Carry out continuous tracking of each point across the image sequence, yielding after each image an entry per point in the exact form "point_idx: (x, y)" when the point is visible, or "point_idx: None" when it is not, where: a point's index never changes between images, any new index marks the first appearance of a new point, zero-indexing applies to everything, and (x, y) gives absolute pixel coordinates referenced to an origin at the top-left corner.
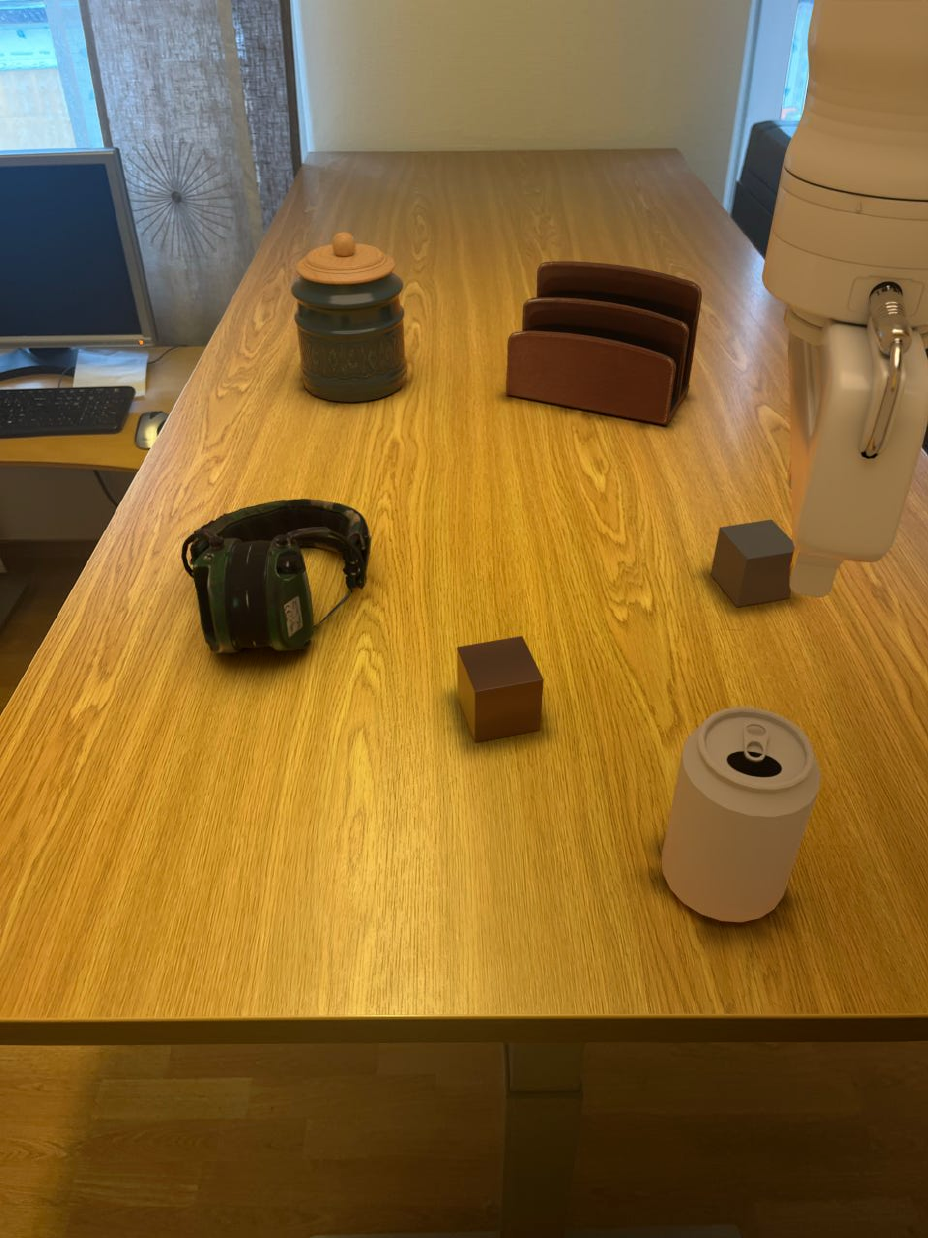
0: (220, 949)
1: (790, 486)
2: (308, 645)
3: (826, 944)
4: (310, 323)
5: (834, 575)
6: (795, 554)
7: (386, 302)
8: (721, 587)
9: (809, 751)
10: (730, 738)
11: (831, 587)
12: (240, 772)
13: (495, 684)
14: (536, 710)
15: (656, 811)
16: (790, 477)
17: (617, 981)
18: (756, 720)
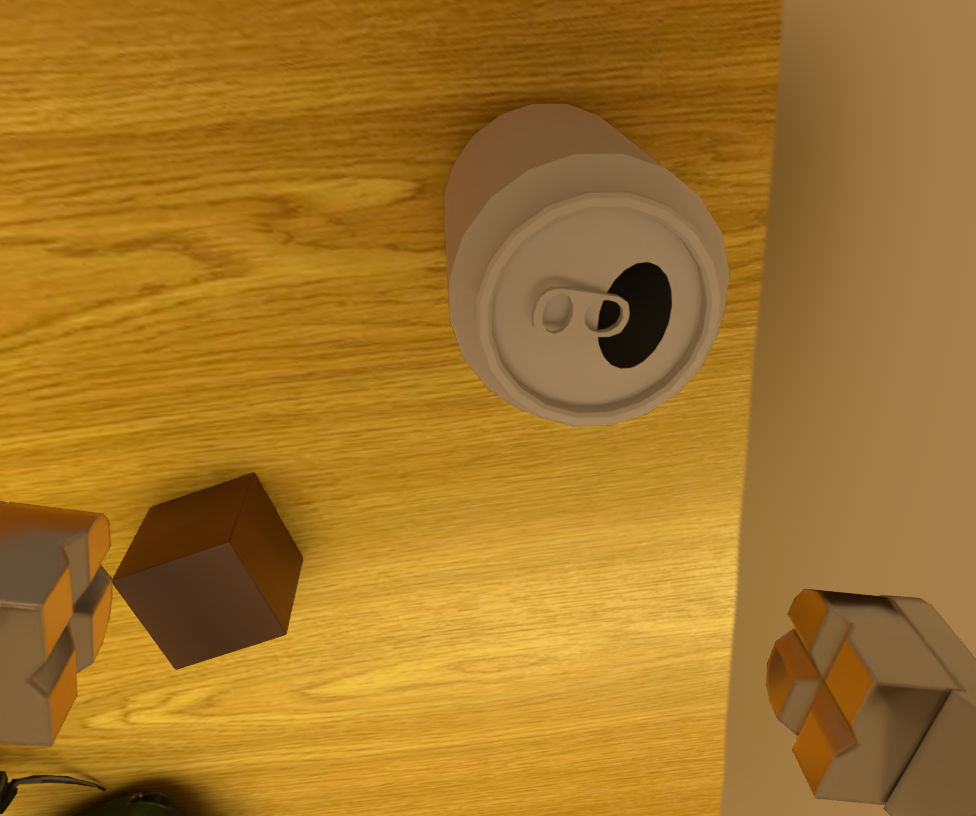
0: (655, 746)
1: (103, 625)
2: (161, 794)
3: (666, 42)
4: None
5: (972, 658)
6: (881, 801)
7: None
8: None
9: (619, 205)
10: (561, 355)
11: (939, 616)
12: (406, 790)
13: (261, 610)
14: (249, 507)
15: (409, 295)
16: (85, 667)
17: (713, 362)
18: (502, 295)
